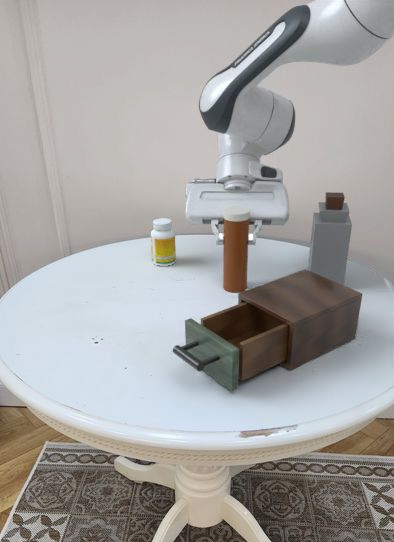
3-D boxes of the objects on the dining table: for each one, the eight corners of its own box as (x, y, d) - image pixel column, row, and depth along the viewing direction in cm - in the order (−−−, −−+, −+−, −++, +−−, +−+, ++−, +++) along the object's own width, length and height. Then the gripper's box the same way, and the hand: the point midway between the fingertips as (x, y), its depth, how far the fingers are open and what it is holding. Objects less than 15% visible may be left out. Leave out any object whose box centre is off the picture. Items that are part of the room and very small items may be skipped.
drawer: (208, 402, 75) (208, 362, 71) (164, 366, 83) (161, 328, 79) (302, 357, 84) (306, 319, 81) (253, 329, 92) (255, 293, 88)
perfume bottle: (307, 275, 113) (315, 189, 103) (339, 276, 112) (351, 190, 102) (308, 288, 107) (317, 199, 98) (342, 290, 106) (355, 200, 97)
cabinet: (289, 371, 83) (294, 322, 78) (237, 338, 91) (238, 293, 87) (355, 339, 90) (362, 293, 86) (301, 311, 99) (305, 268, 94)
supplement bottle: (147, 262, 120) (144, 220, 115) (166, 256, 123) (164, 215, 118) (161, 269, 117) (159, 226, 112) (181, 262, 120) (179, 221, 115)
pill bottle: (252, 288, 108) (255, 210, 99) (233, 295, 105) (235, 216, 97) (236, 280, 111) (238, 204, 103) (217, 286, 109) (217, 209, 100)
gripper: (184, 170, 104) (180, 236, 101) (290, 170, 102) (290, 237, 99) (187, 187, 110) (184, 249, 107) (287, 187, 108) (286, 251, 105)
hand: (235, 243), depth 103 cm, fingers closed on pill bottle, 5 cm apart
